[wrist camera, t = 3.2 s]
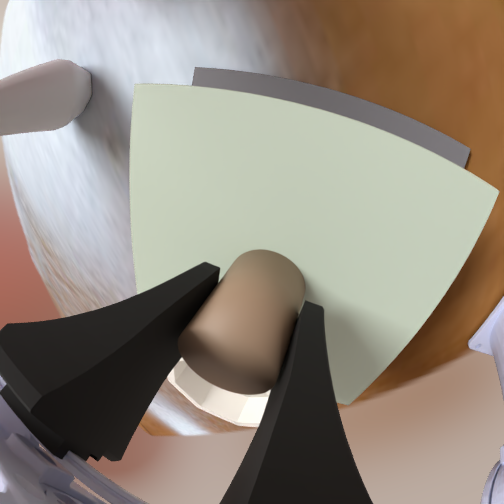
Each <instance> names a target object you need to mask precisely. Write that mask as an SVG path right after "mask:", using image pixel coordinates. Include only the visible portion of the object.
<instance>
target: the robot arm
mask: <svg viewBox="0 0 504 504" xmlns="http://www.w3.org/2000/svg"><path fill="white" fill-rule="evenodd" d="M219 275H220V267H218V266H215V265H213V264H210V263H208V262H203V263H201V264H199V265H197V266H195V267H193V268H191V269H189V270H187V271H185V272H183V273H181V274H179V275H178V276H176V277H174V278H172V279H170V280H168V281H166V282H164V283H162V284H159V285H157V286H155V287H153V288H151V289H149V290H147V291H145V292H142V293H140V294H138V295H135V296H133V297H131V298H128V299H126V300H123V301H121V302H118V303H115V304H112V305H109V306H106V307H103V308H100V309H97V310H94V311H90V312H86V313H82V314H78V315H74V316H70V317H65V318H60V319H55V320H47V321H40V322H29V323H14V324H13V323H11V324H7V325H6V326H4V327H3V328H2V329H1V330H0V504H106V503H105V502H103V501H102V500H100V499H98V498H97V497H95V496H94V495H92V494H91V493H89V492H88V491H87V490H85V489H84V488H82V487H81V486H80V485H78V484H77V483H75V482H74V481H73V480H74V479H75V478H74V476H75V477H76V478H77V479H79V480H80V481H81V482H82V483H84V484H85V485H86V486H87V487H89V488H90V489H91V490H93V491H94V492H95V493H97V494H98V495H100V496H101V497H102V498H104V499H105V500H107V501H108V502H110V503H111V504H148V503H147V502H145V501H143V500H141V499H140V498H138V497H136V496H134V495H132V494H131V493H129V492H128V491H126V490H125V489H123V488H122V487H120V486H119V485H117V484H115V483H114V482H112V481H111V480H110V479H108V478H107V477H105V476H104V475H103V474H101V473H100V472H98V471H97V470H96V469H95V468H93V467H92V466H91V465H89V464H88V463H87V462H86V461H87V459H88V458H89V456H91V457H92V458H94V459H95V460H96V461H99V460H100V458H101V457H102V456H104V457H106V458H107V459H109V460H110V461H119V460H121V459H122V456H123V454H124V452H125V450H126V448H127V446H128V444H129V442H130V440H131V438H132V436H133V434H134V432H135V430H136V428H137V427H138V425H139V423H140V421H141V419H142V417H143V416H144V414H145V412H146V410H147V409H148V407H149V405H150V403H151V402H152V400H153V398H154V397H155V395H156V393H157V392H158V390H159V388H160V387H161V385H162V383H163V382H164V380H165V379H166V378H167V376H168V375H169V373H170V372H171V371H172V369H173V368H174V367H175V365H176V364H177V363H178V362H179V360H180V359H181V358H182V356H181V354H180V352H179V349H178V339H179V336H180V335H181V333H182V332H183V331H184V329H185V328H186V326H187V325H188V324H189V322H190V321H191V320H192V318H193V317H194V315H195V314H196V313H197V311H198V310H199V309H200V307H201V306H202V305H203V303H204V302H205V300H206V299H207V298H208V296H209V295H210V294H211V292H212V291H213V289H214V288H215V287H216V285H217V284H218V282H219ZM468 346H469V348H470V349H473V350H476V351H479V352H482V353H485V354H488V355H491V356H494V359H495V363H496V367H497V371H498V375H499V379H500V383H501V389H502V394H503V399H504V296H503V298H502V299H501V301H500V302H499V303H498V305H497V306H496V308H495V309H494V310H493V312H492V313H491V314H490V316H489V317H488V318H487V319H486V321H485V322H484V323H483V325H482V326H481V327H480V328H479V329H478V331H477V332H476V333H475V334H474V335H473V337H472V338H471V339H470V340H469V342H468ZM39 444H40V445H41V446H42V447H43V448H44V449H45V450H46V451H45V450H44V449H42V448H41V447H39ZM72 474H73V475H74V476H73V475H72ZM220 504H373V503H372V501H371V499H370V497H369V494H368V492H367V490H366V488H365V486H364V483H363V481H362V479H361V476H360V474H359V471H358V469H357V466H356V464H355V461H354V458H353V455H352V453H351V449H350V447H349V444H348V441H347V438H346V435H345V432H344V429H343V425H342V421H341V418H340V414H339V410H338V406H337V402H336V398H335V393H334V389H333V383H332V378H331V373H330V367H329V360H328V353H327V345H326V335H325V322H324V308H323V306H320V305H317V304H314V303H312V302H309V301H306V300H305V302H304V305H303V307H302V309H301V312H300V314H299V316H298V318H297V321H296V324H295V327H294V330H293V333H292V336H291V340H290V343H289V346H288V349H287V352H286V355H285V358H284V361H283V364H282V366H281V369H280V372H279V375H278V378H277V381H276V383H275V385H274V387H273V388H272V389H271V391H270V394H269V397H268V401H267V404H266V407H265V410H264V413H263V416H262V419H261V422H260V424H259V427H258V429H257V431H256V433H255V436H254V438H253V440H252V442H251V444H250V446H249V449H248V451H247V453H246V455H245V457H244V459H243V461H242V463H241V465H240V467H239V469H238V471H237V473H236V475H235V477H234V479H233V480H232V482H231V484H230V486H229V488H228V490H227V491H226V493H225V495H224V497H223V499H222V500H221V502H220ZM481 504H504V445H503V446H502V447H501V448H500V460H499V461H498V462H497V463H496V464H495V466H494V467H493V469H492V470H491V472H490V474H489V476H488V479H487V481H486V484H485V487H484V490H483V493H482V498H481Z"/></svg>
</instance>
